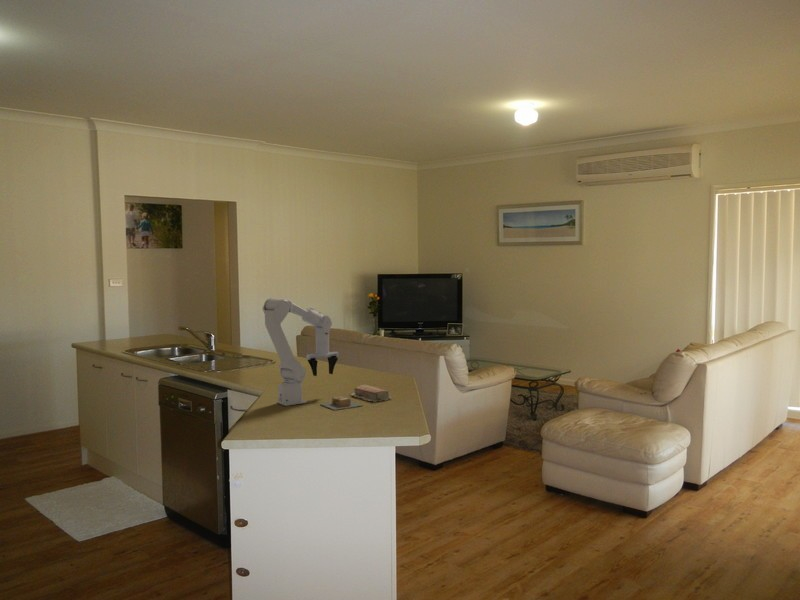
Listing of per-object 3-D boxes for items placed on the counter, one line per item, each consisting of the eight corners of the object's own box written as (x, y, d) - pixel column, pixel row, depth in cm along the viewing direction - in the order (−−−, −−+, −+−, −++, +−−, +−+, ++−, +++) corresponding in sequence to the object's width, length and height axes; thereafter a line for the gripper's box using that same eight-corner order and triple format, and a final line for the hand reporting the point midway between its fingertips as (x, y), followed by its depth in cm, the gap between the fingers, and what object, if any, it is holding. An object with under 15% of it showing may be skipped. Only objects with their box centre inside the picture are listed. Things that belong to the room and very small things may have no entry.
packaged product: (392, 389, 273) (373, 392, 267) (392, 400, 273) (373, 403, 267) (367, 382, 287) (349, 385, 281) (367, 393, 288) (349, 396, 281)
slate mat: (334, 410, 253) (334, 409, 253) (319, 404, 263) (319, 404, 263) (362, 406, 261) (362, 405, 261) (347, 400, 271) (347, 399, 271)
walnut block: (332, 403, 264) (332, 397, 263) (341, 402, 266) (341, 395, 266) (340, 406, 258) (340, 400, 258) (350, 405, 260) (350, 398, 260)
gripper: (311, 345, 271) (311, 377, 272) (341, 342, 279) (342, 374, 280) (303, 343, 277) (304, 375, 278) (334, 341, 285) (334, 371, 286)
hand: (322, 374), depth 279 cm, fingers open, 7 cm apart
